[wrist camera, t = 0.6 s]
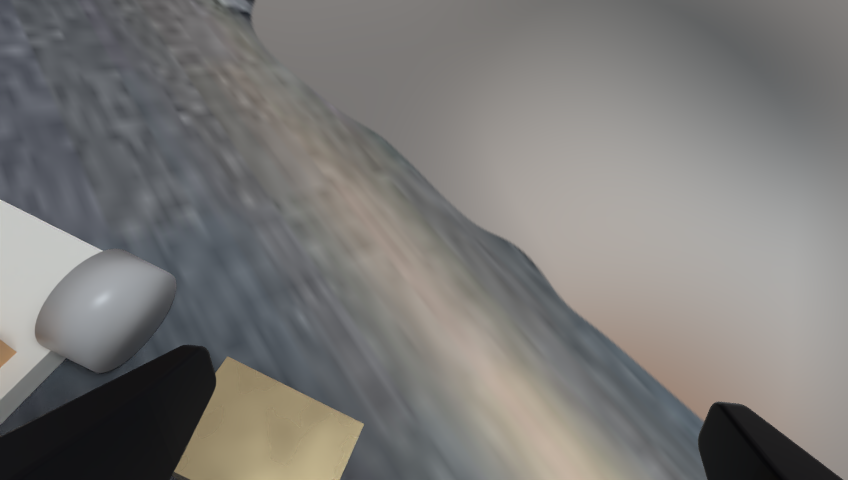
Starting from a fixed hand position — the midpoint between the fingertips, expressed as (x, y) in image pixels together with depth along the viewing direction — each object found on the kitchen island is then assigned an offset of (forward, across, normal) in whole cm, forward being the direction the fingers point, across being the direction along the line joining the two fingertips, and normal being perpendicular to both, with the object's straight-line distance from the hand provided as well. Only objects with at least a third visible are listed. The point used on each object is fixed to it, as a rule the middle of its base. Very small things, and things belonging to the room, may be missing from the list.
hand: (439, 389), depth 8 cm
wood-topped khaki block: (+6, +9, +13) cm, 17 cm away
